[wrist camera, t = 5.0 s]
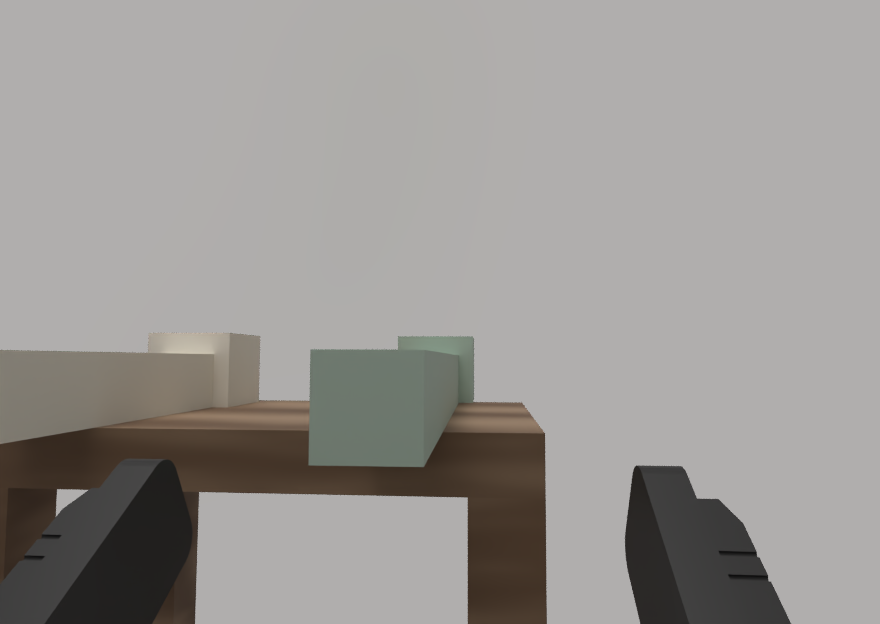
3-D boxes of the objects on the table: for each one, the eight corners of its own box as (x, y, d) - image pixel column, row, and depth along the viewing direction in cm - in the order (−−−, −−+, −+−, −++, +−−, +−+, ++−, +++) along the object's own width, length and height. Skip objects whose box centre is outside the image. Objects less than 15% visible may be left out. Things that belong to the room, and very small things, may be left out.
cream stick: (-303, 504, 10) (-283, 281, 10) (-528, 499, 10) (-503, 282, 10) (258, 401, 34) (260, 336, 34) (186, 401, 34) (188, 336, 34)
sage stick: (458, 467, 13) (458, 303, 14) (274, 464, 14) (278, 304, 14) (474, 398, 37) (473, 339, 38) (406, 397, 38) (406, 338, 38)
